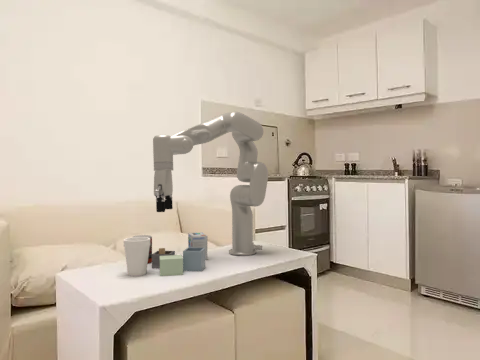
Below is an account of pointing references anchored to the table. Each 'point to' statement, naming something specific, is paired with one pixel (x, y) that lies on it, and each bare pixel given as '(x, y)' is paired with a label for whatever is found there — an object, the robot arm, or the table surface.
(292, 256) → the table surface
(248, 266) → the table surface
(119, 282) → the table surface
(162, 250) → the wooden dowel
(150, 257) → the canned food
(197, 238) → the light bulb box
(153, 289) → the table surface
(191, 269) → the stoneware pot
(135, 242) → the foam cup
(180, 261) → the pale green block
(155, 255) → the metal tin
